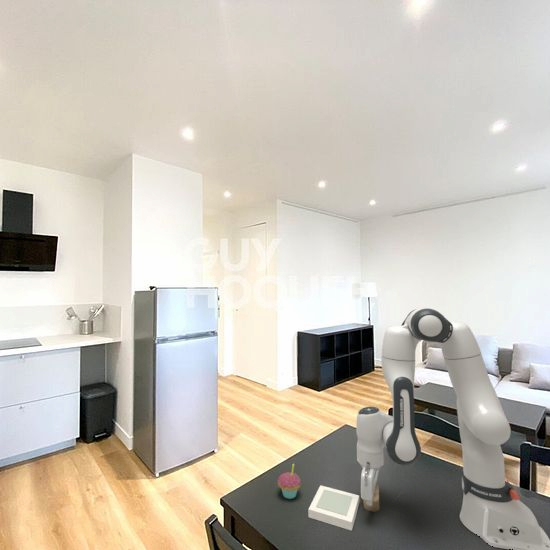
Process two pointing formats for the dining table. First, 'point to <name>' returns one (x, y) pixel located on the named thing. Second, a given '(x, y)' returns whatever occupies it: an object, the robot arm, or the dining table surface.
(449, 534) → the dining table surface
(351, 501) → the base slab
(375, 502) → the bread loaf
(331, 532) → the dining table surface
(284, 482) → the cupcake
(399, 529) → the dining table surface
